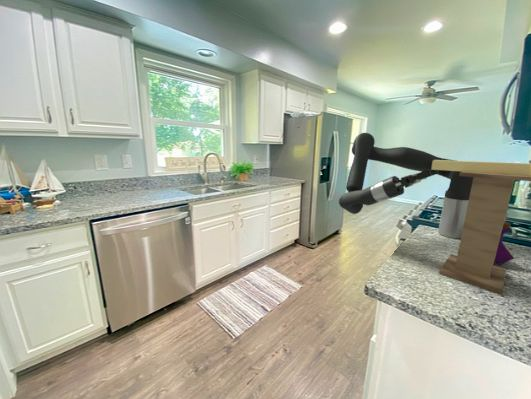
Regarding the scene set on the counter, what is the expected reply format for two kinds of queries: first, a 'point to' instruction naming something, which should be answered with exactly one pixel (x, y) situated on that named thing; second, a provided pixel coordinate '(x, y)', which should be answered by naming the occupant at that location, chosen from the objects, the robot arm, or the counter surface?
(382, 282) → the counter surface
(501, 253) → the perfume bottle
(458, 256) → the walnut stand
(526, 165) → the ochre bar
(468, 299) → the counter surface
